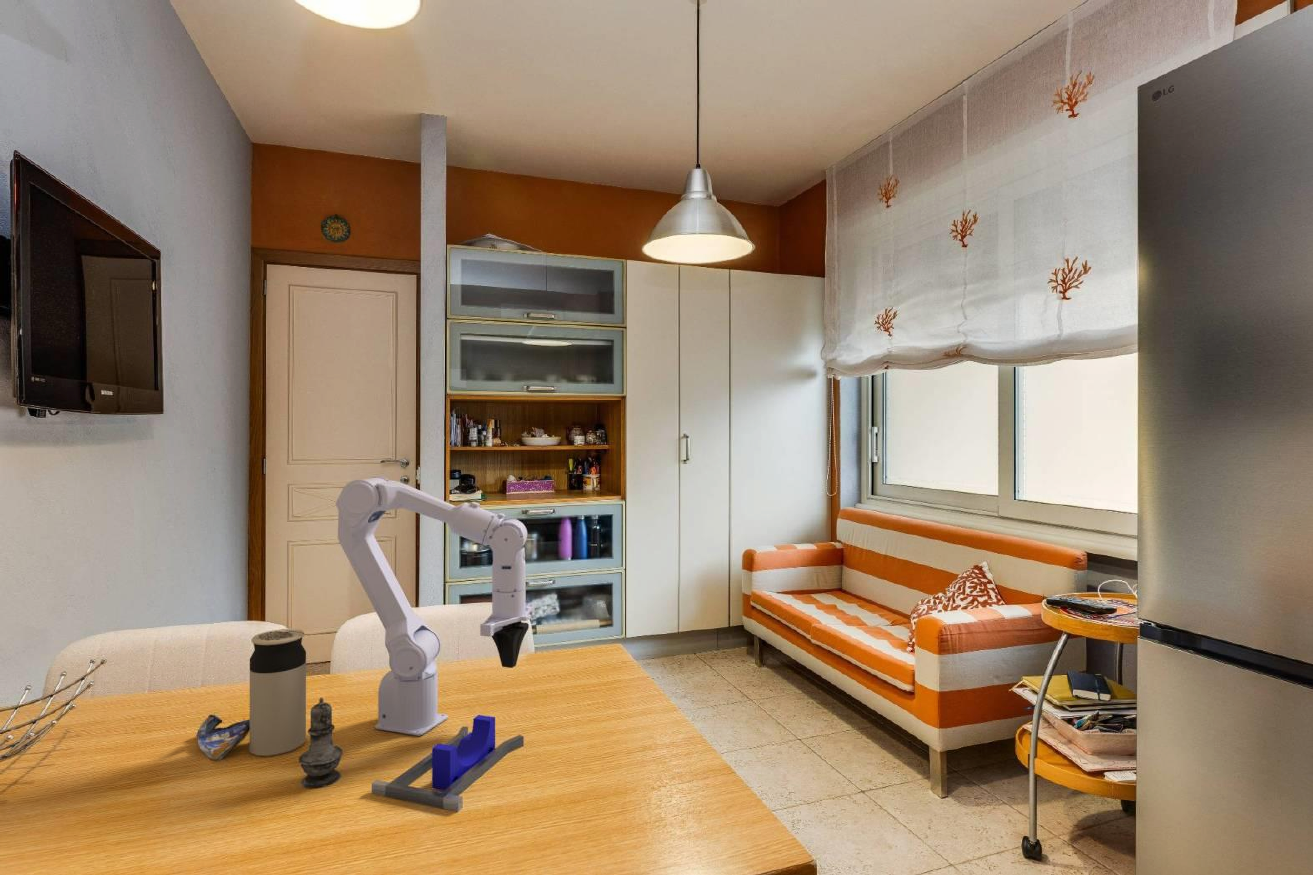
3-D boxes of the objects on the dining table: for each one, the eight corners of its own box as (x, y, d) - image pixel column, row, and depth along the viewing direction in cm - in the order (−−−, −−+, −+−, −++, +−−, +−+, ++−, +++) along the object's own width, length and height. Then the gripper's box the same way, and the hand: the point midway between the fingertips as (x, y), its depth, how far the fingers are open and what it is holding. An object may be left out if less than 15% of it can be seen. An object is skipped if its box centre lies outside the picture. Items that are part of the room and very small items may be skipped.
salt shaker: (298, 793, 95) (298, 708, 95) (298, 774, 100) (298, 693, 100) (344, 783, 97) (344, 700, 97) (342, 765, 103) (342, 687, 103)
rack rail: (371, 793, 95) (371, 783, 95) (456, 733, 114) (456, 724, 114) (458, 811, 90) (458, 800, 90) (531, 745, 109) (531, 736, 109)
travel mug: (265, 762, 104) (266, 645, 104) (239, 749, 108) (239, 637, 108) (315, 742, 110) (316, 632, 110) (289, 730, 115) (289, 625, 115)
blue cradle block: (470, 750, 108) (470, 713, 108) (495, 754, 107) (495, 717, 107) (423, 788, 97) (423, 746, 97) (450, 793, 95) (450, 750, 95)
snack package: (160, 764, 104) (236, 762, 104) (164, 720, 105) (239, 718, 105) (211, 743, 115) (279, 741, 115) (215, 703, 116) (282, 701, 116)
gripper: (506, 600, 110) (506, 683, 110) (549, 581, 124) (549, 655, 124) (469, 596, 112) (469, 677, 112) (515, 579, 126) (515, 651, 126)
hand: (508, 666), depth 118 cm, fingers closed
